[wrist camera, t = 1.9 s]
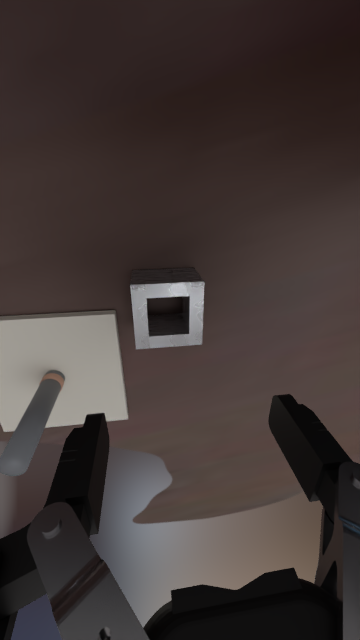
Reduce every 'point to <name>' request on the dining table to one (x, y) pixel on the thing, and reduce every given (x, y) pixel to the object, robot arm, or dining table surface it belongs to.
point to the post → (56, 377)
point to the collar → (167, 326)
